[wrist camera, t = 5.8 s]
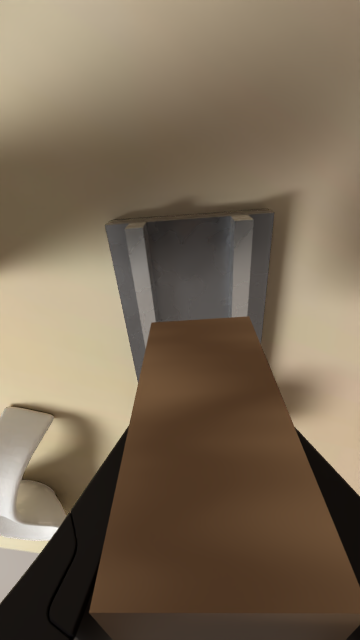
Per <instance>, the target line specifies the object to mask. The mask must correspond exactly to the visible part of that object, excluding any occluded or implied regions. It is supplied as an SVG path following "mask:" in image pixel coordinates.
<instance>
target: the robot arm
mask: <svg viewBox="0 0 360 640" xmlns="http://www.w3.org/2000/svg"><path fill="white" fill-rule="evenodd" d="M128 429H129V426H128V428H127V429H126V431H125V432H124V433H123V435H122V436H121V438H120V439H119V441H118V442H117V444H116V445H115V447H114V448H113V449H112V451H111V452H110V454H109V455H108V457H107V458H106V460H105V461H104V463H103V464H102V466H101V467H100V468H99V470H98V471H97V473H96V474H95V476H94V477H93V479H92V480H91V482H90V483H89V484H88V486H87V487H86V489H85V490H84V492H83V493H82V495H81V496H80V498H79V499H78V501H77V502H76V503H75V505H74V506H73V508H72V509H71V513H69V514H68V515H67V516H66V518H65V519H64V521H63V522H62V524H61V525H60V527H59V528H58V529H57V531H56V532H55V534H54V535H53V536H52V538H51V539H50V541H49V542H48V543H47V545H46V546H45V548H44V549H43V550H42V552H41V553H40V554H39V556H38V557H37V558H36V560H35V561H34V562H33V563H32V564H31V566H30V567H29V568H28V570H27V571H26V572H25V574H24V575H23V576H22V577H21V578H20V580H19V581H18V582H17V584H16V585H15V586H14V587H13V588H12V590H11V591H10V592H9V593H8V595H7V596H6V597H5V598H4V600H3V601H2V602H1V603H0V640H112V638H111V637H110V636H109V635H108V634H107V633H106V632H105V630H104V629H103V628H102V627H101V626H100V625H99V624H98V622H97V621H96V620H95V619H94V618H93V617H92V616H91V614H90V613H89V610H90V606H91V601H92V596H93V592H94V587H95V582H96V578H97V573H98V569H99V564H100V559H101V555H102V550H103V545H104V541H105V536H106V531H107V527H108V522H109V517H110V513H111V508H112V503H113V499H114V494H115V489H116V485H117V480H118V475H119V471H120V466H121V461H122V457H123V452H124V448H125V443H126V438H127V434H128ZM295 430H296V432H297V435H298V437H299V440H300V442H301V445H302V447H303V449H304V452H305V454H306V457H307V459H308V462H309V464H310V467H311V469H312V471H313V474H314V476H315V479H316V481H317V484H318V486H319V489H320V491H321V493H322V496H323V498H324V501H325V503H326V506H327V508H328V511H329V513H330V515H331V518H332V520H333V523H334V525H335V528H336V530H337V533H338V535H339V537H340V540H341V542H342V545H343V547H344V550H345V552H346V555H347V557H348V559H349V562H350V564H351V567H352V569H353V572H354V574H355V577H356V579H357V581H358V584H359V586H360V496H359V495H358V494H357V493H356V492H355V491H354V490H353V489H352V488H351V486H350V485H349V484H348V483H347V482H346V481H345V480H344V479H343V478H342V477H341V476H340V475H339V474H338V473H337V472H336V470H335V469H334V468H333V467H332V466H331V465H330V464H329V463H328V462H327V461H326V460H325V459H324V458H323V457H322V456H321V454H320V453H319V452H318V451H317V450H316V449H315V448H314V447H313V446H312V445H311V444H310V443H309V442H308V441H307V440H306V438H305V437H304V436H303V435H302V434H301V433H300V432H299V431H298V430H297V429H296V428H295ZM346 640H360V625H359V626H358V627H357V628H356V629H355V630H354V631H353V633H352V634H351V635H350V636H349V637H348V638H347V639H346Z"/></svg>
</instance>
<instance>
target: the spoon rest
mask: <svg viewBox="0 0 360 640" xmlns="http://www.w3.org/2000/svg"><path fill="white" fill-rule="evenodd" d="M53 419H54V416H53V415H51V414H48V413H43V412H38V411H33V410H29V409H24V408H18V407H6V408H5V409H4V411H3V413H2V414H1V416H0V536H4V537H8V538H15V539H23V540H32V541H45V540H50V539H51V538H52V536H53V535H54V534H55V532H56V531H57V529H58V528H59V527H60V525H61V524H62V522H63V521H64V519H65V518H66V515H65V511H64V509H63V507H62V505H61V503H60V501H59V500H58V498H57V497H56V495H55V492H54V491H53V490H52V489H51V488H50V487H48V486H47V485H45V484H42V483H40V482H36V481H32V480H21V479H22V476H23V474H24V471H25V469H26V467H27V465H28V463H29V461H30V459H31V457H32V455H33V453H34V451H35V450H36V448H37V446H38V445H39V443H40V441H41V440H42V438H43V436H44V435H45V433H46V431H47V430H48V428H49V426H50V425H51V423H52V421H53Z"/></svg>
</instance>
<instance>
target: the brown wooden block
mask: <svg viewBox="0 0 360 640" xmlns="http://www.w3.org/2000/svg"><path fill="white" fill-rule="evenodd" d="M89 613H90V614H91V616H92V617H93V618H94V619H95V620H96V621H97V622H98V624H99V625H100V626H101V627H102V628H103V629H104V630H105V632H106V633H107V634H108V635H109V636H110V637H111V638H112V640H346V639H347V638H348V637H349V636H350V635H351V634H352V633H353V631H354V630H355V629H356V628H357V627H358V626H359V625H360V586H359V584H358V581H357V579H356V577H355V574H354V572H353V569H352V567H351V564H350V562H349V559H348V557H347V555H346V552H345V550H344V547H343V545H342V542H341V540H340V537H339V535H338V533H337V530H336V528H335V525H334V523H333V520H332V518H331V515H330V513H329V511H328V508H327V506H326V503H325V501H324V498H323V496H322V493H321V491H320V489H319V486H318V484H317V481H316V479H315V476H314V474H313V471H312V469H311V467H310V464H309V462H308V459H307V457H306V454H305V452H304V449H303V447H302V445H301V442H300V440H299V437H298V435H297V432H296V430H295V427H294V425H293V423H292V420H291V418H290V415H289V413H288V410H287V408H286V405H285V403H284V401H283V398H282V396H281V393H280V391H279V388H278V386H277V383H276V381H275V379H274V376H273V374H272V371H271V369H270V366H269V364H268V361H267V359H266V357H265V354H264V352H263V349H262V347H261V344H260V342H259V339H258V337H257V335H256V332H255V330H254V327H253V325H252V322H251V320H250V317H249V316H247V317H231V318H215V319H200V320H184V321H168V322H152V323H151V327H150V331H149V336H148V341H147V345H146V350H145V354H144V359H143V364H142V368H141V373H140V378H139V382H138V387H137V392H136V396H135V401H134V406H133V410H132V415H131V420H130V424H129V429H128V434H127V438H126V443H125V448H124V452H123V457H122V461H121V466H120V471H119V475H118V480H117V485H116V489H115V494H114V499H113V503H112V508H111V513H110V517H109V522H108V527H107V531H106V536H105V541H104V545H103V550H102V555H101V559H100V564H99V569H98V573H97V578H96V582H95V587H94V592H93V596H92V601H91V606H90V610H89Z"/></svg>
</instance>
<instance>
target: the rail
mask: <svg viewBox="0 0 360 640" xmlns="http://www.w3.org/2000/svg"><path fill="white" fill-rule="evenodd" d="M273 220H274V212H272V211H271V210H269V209H257V210H244V211H230V212H217V213H203V214H190V215H176V216H163V217H149V218H136V219H122V220H111V221H110V222H108V223H107V224H106V225H105V228H106V232H107V237H108V242H109V247H110V251H111V256H112V261H113V266H114V270H115V275H116V280H117V285H118V290H119V294H120V299H121V304H122V309H123V313H124V318H125V323H126V328H127V332H128V337H129V342H130V347H131V351H132V356H133V361H134V366H135V371H136V375H137V380H138V382H139V378H140V373H141V368H142V364H143V359H144V354H145V350H146V345H147V341H148V336H149V331H150V327H151V323H152V322H168V321H184V320H200V319H215V318H231V317H247V316H249V317H250V320H251V322H252V325H253V327H254V330H255V332H256V335H257V337H258V339H259V342H260V344H261V338H262V328H263V318H264V308H265V299H266V289H267V279H268V269H269V260H270V250H271V240H272V230H273Z"/></svg>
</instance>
